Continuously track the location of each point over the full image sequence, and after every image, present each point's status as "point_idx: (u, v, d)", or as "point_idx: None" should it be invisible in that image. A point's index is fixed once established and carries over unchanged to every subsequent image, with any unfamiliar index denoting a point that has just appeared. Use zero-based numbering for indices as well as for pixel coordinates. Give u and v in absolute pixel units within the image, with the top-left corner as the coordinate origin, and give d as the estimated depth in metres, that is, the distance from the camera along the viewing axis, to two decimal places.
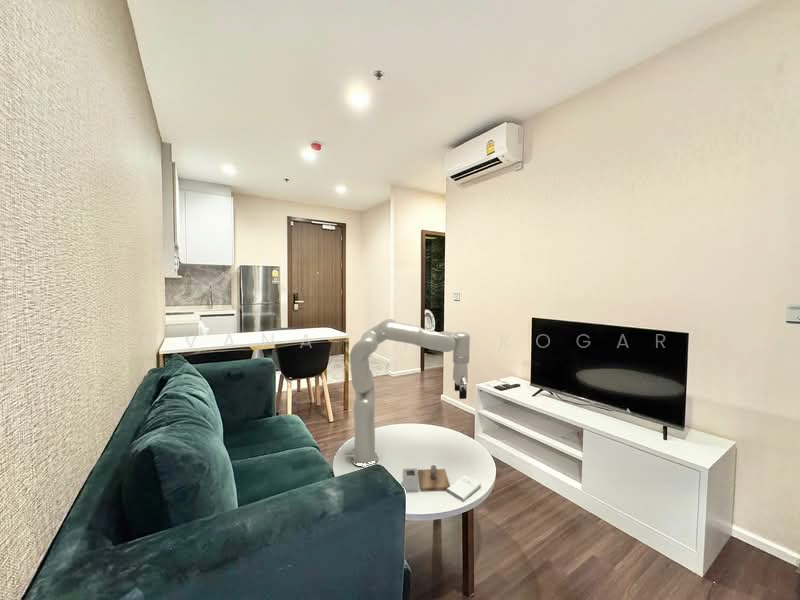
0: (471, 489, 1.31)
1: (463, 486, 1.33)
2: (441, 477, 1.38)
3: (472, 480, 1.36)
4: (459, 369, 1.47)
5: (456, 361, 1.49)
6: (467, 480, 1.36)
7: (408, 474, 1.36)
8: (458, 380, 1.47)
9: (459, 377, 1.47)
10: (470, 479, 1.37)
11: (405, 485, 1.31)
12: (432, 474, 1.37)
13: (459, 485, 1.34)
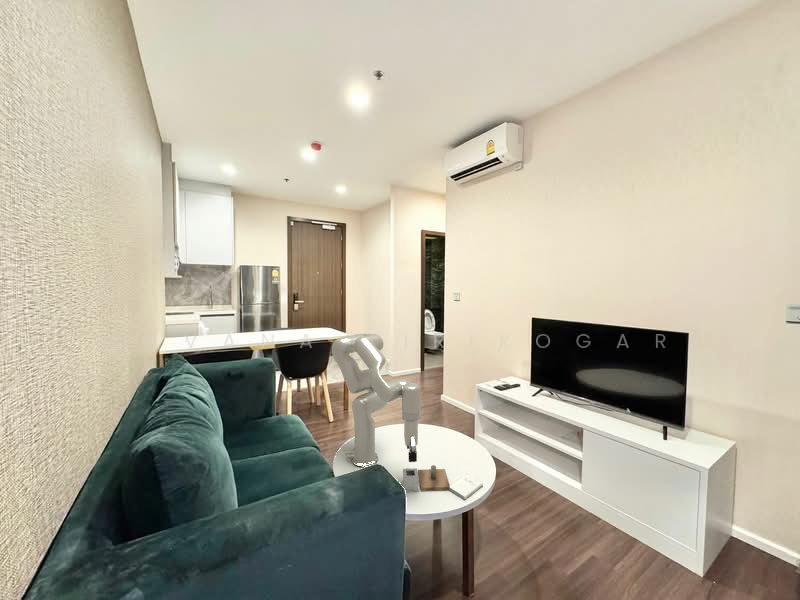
0: (473, 488, 1.32)
1: (465, 485, 1.33)
2: (441, 477, 1.38)
3: (474, 480, 1.37)
4: (407, 428, 1.27)
5: (405, 418, 1.29)
6: (469, 479, 1.37)
7: (408, 474, 1.36)
8: (407, 440, 1.27)
9: (408, 437, 1.27)
10: (472, 479, 1.38)
11: (405, 485, 1.31)
12: (432, 474, 1.37)
13: (461, 483, 1.34)
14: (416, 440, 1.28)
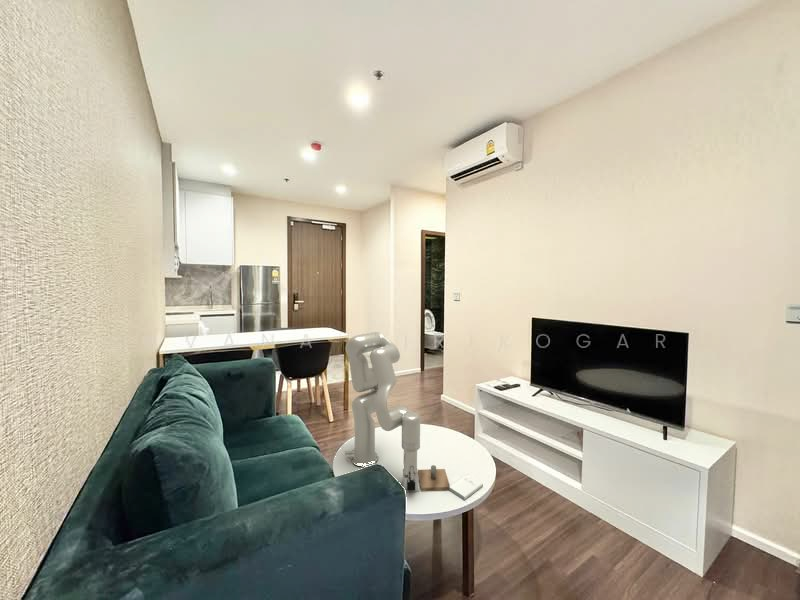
0: (473, 488, 1.31)
1: (465, 485, 1.33)
2: (441, 477, 1.38)
3: (474, 480, 1.37)
4: (407, 457, 1.29)
5: (404, 447, 1.30)
6: (469, 480, 1.37)
7: None
8: (406, 470, 1.29)
9: (407, 467, 1.29)
10: (472, 479, 1.37)
11: (405, 485, 1.31)
12: (432, 474, 1.37)
13: (461, 484, 1.34)
14: (415, 471, 1.29)
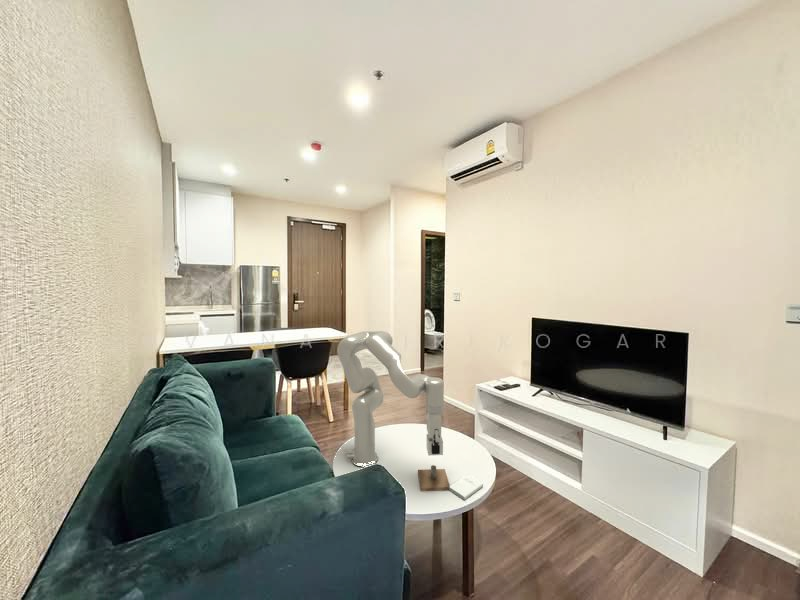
0: (473, 488, 1.31)
1: (465, 485, 1.33)
2: (441, 477, 1.38)
3: (474, 480, 1.37)
4: (431, 421, 1.31)
5: (428, 411, 1.33)
6: (469, 480, 1.37)
7: None
8: (431, 433, 1.31)
9: (432, 430, 1.31)
10: (472, 479, 1.37)
11: (430, 449, 1.34)
12: (432, 474, 1.37)
13: (461, 484, 1.34)
14: (440, 435, 1.31)
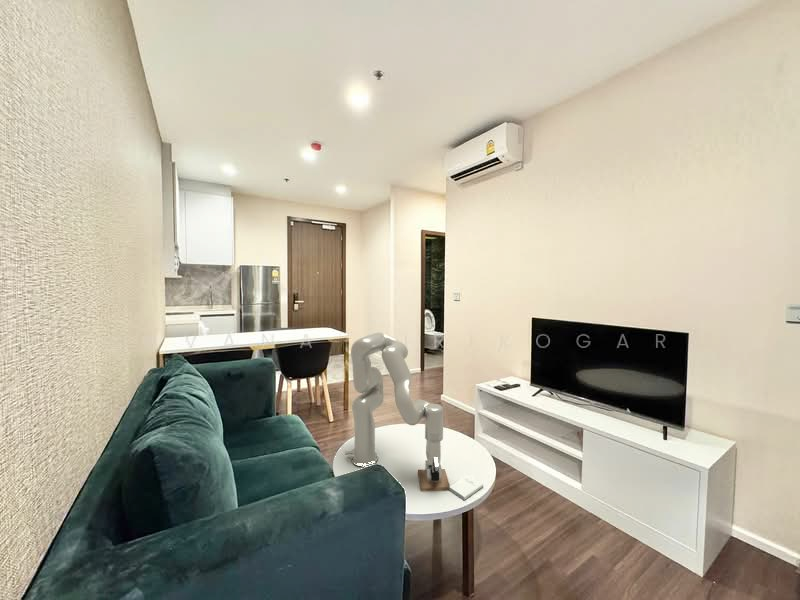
0: (473, 489, 1.31)
1: (465, 485, 1.33)
2: (441, 477, 1.38)
3: (475, 480, 1.36)
4: (431, 448, 1.32)
5: (428, 438, 1.34)
6: (470, 480, 1.37)
7: (430, 466, 1.39)
8: (430, 460, 1.32)
9: (431, 457, 1.32)
10: (473, 479, 1.37)
11: (428, 476, 1.35)
12: None
13: (461, 484, 1.34)
14: (439, 460, 1.32)
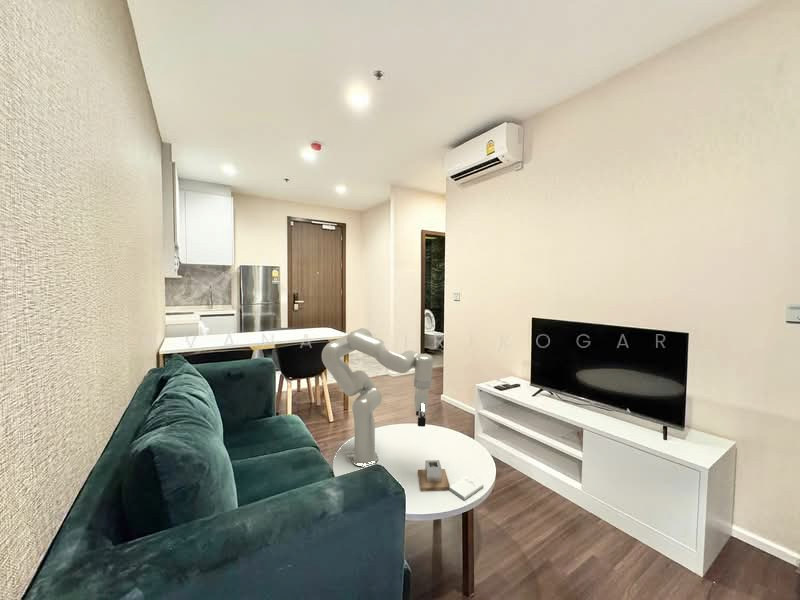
0: (473, 489, 1.31)
1: (465, 485, 1.33)
2: (441, 477, 1.38)
3: (475, 480, 1.36)
4: (419, 394, 1.36)
5: (416, 385, 1.38)
6: (470, 480, 1.37)
7: (430, 466, 1.39)
8: (417, 406, 1.37)
9: (418, 403, 1.36)
10: (473, 479, 1.37)
11: (428, 476, 1.35)
12: None
13: (461, 484, 1.34)
14: (426, 406, 1.37)
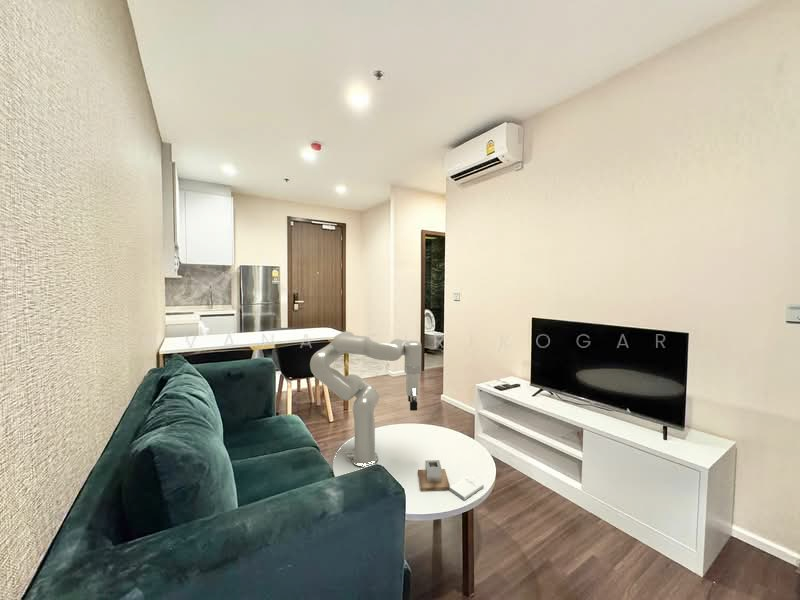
0: (473, 489, 1.31)
1: (465, 486, 1.33)
2: (441, 477, 1.38)
3: (475, 481, 1.36)
4: (409, 380, 1.41)
5: (407, 371, 1.43)
6: (470, 480, 1.37)
7: (430, 466, 1.39)
8: (408, 391, 1.41)
9: (409, 388, 1.41)
10: (473, 479, 1.37)
11: (428, 476, 1.35)
12: None
13: (461, 484, 1.34)
14: (417, 391, 1.42)
